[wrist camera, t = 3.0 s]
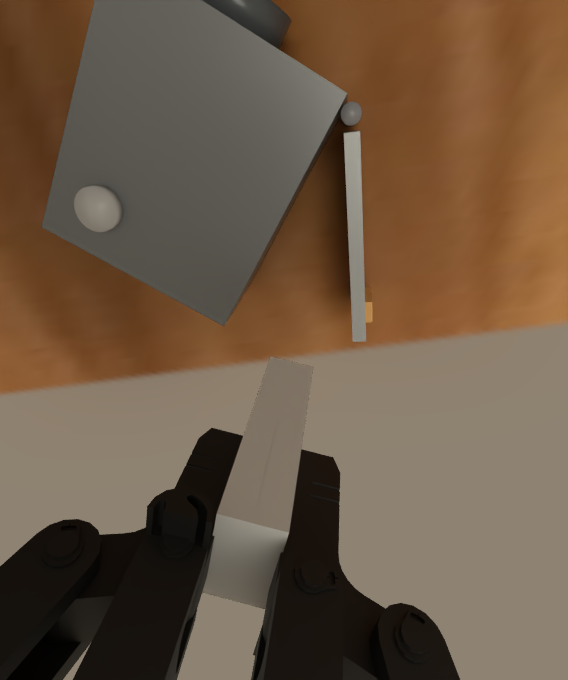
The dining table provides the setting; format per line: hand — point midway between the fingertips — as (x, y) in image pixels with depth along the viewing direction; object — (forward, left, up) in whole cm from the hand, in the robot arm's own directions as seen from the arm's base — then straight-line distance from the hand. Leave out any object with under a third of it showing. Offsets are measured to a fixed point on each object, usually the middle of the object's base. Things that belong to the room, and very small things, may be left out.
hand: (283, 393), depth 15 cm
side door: (-3, +1, -18) cm, 18 cm away
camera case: (-2, -9, -18) cm, 21 cm away
